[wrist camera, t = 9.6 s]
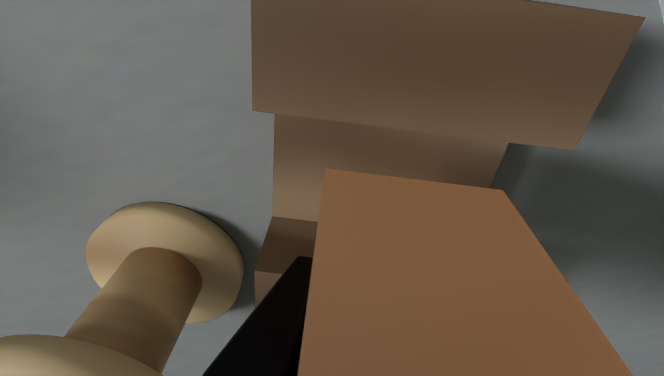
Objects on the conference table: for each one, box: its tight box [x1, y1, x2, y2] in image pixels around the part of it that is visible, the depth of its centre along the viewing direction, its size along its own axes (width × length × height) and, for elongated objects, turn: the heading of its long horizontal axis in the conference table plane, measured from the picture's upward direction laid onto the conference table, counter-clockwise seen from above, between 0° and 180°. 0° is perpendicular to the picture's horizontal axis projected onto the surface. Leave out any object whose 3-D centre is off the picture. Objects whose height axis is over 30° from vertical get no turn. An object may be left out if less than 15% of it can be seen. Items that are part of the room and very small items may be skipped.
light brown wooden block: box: [298, 168, 633, 376], centre depth 7 cm, size 4×4×5 cm
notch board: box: [251, 0, 646, 308], centre depth 12 cm, size 12×8×4 cm
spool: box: [0, 202, 244, 376], centre depth 14 cm, size 7×7×8 cm
